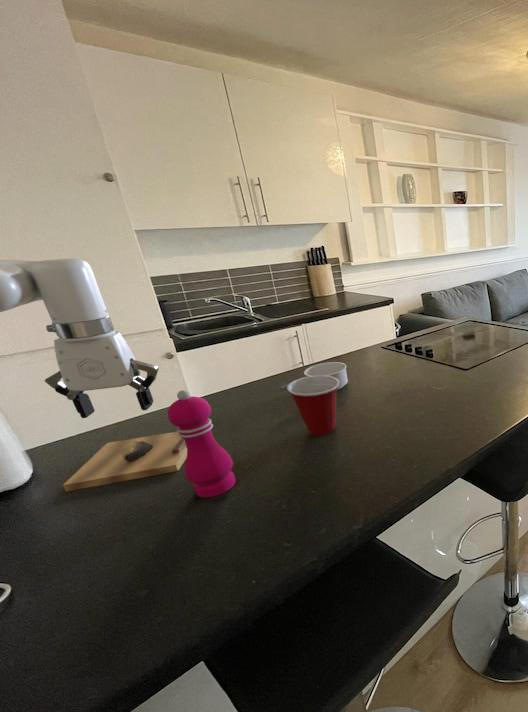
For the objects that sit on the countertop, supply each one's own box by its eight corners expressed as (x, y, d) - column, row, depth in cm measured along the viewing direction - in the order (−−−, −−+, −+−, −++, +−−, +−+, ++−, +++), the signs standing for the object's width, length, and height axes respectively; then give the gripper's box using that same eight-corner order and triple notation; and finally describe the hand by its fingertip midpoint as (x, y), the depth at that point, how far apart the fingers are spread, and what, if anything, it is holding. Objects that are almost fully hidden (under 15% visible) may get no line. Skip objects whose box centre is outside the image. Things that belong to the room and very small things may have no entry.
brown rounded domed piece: (126, 463, 82) (124, 449, 81) (111, 458, 84) (110, 444, 83) (162, 453, 88) (161, 440, 87) (147, 449, 89) (146, 436, 89)
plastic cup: (339, 440, 91) (329, 391, 87) (290, 443, 91) (278, 394, 86) (353, 417, 101) (345, 372, 97) (309, 419, 101) (298, 374, 96)
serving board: (65, 491, 77) (60, 481, 76) (109, 448, 91) (105, 439, 90) (178, 471, 82) (174, 461, 81) (203, 433, 96) (200, 424, 95)
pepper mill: (242, 472, 81) (212, 379, 73) (234, 493, 75) (201, 394, 67) (199, 481, 79) (163, 386, 71) (188, 504, 72) (147, 403, 65)
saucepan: (272, 402, 111) (266, 383, 108) (331, 376, 127) (327, 359, 125) (300, 410, 105) (295, 391, 103) (358, 382, 122) (355, 365, 120)
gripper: (9, 338, 70) (51, 427, 76) (132, 329, 75) (162, 412, 81) (39, 328, 76) (75, 410, 83) (150, 319, 81) (176, 397, 88)
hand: (118, 411), depth 82 cm, fingers open, 9 cm apart
